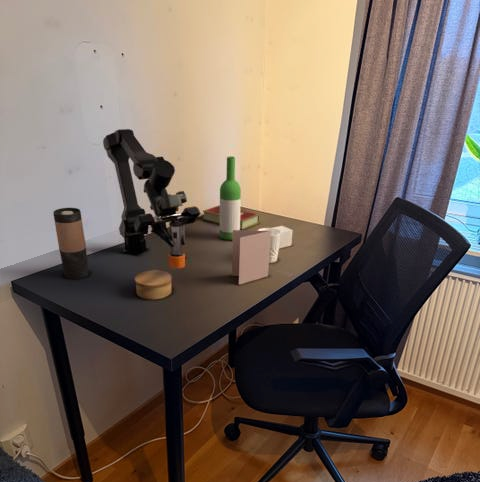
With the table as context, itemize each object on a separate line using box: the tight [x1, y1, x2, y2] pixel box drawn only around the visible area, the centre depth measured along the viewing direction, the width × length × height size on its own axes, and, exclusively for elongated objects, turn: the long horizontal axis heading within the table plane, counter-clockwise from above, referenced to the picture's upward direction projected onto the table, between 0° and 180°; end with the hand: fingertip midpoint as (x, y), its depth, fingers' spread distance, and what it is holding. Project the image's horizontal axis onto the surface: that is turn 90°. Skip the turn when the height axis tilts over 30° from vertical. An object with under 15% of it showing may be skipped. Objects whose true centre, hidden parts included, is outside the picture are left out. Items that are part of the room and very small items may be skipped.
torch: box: [168, 221, 186, 270], centre depth 126 cm, size 5×5×13 cm
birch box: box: [134, 269, 173, 300], centre depth 128 cm, size 10×10×4 cm
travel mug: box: [52, 207, 90, 280], centre depth 133 cm, size 8×8×20 cm
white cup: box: [257, 227, 281, 264], centre depth 151 cm, size 8×8×10 cm
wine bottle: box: [219, 155, 242, 241], centre depth 164 cm, size 8×8×30 cm
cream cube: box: [273, 225, 294, 249], centre depth 165 cm, size 6×6×6 cm
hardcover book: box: [202, 204, 260, 230], centre depth 188 cm, size 12×21×4 cm, turn 54°
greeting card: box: [231, 229, 271, 285], centre depth 134 cm, size 11×7×15 cm, turn 91°
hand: (178, 245), depth 125 cm, fingers closed on torch, 3 cm apart
